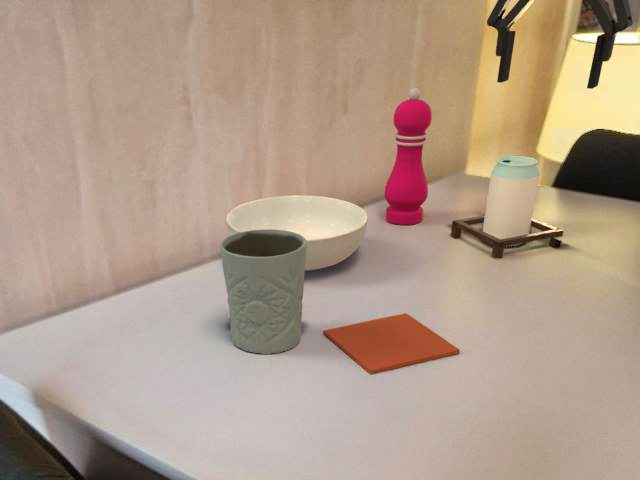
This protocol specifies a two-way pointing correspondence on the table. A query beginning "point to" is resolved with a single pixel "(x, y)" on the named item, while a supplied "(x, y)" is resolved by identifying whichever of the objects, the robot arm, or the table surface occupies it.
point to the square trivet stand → (500, 243)
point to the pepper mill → (408, 162)
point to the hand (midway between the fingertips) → (546, 84)
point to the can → (511, 197)
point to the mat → (390, 343)
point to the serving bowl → (306, 224)
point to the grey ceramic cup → (265, 288)
